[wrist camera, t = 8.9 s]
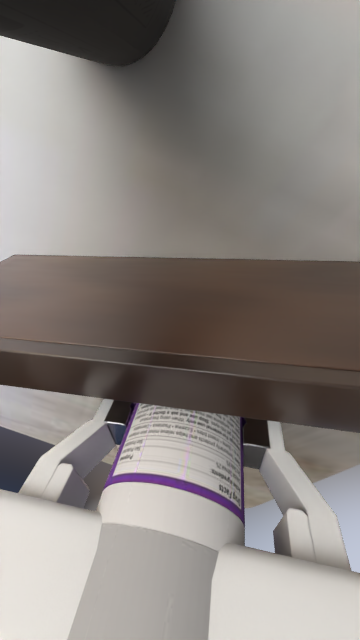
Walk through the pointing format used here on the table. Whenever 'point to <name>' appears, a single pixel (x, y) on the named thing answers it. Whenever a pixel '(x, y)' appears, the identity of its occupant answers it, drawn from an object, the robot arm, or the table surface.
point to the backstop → (188, 334)
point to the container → (164, 526)
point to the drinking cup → (88, 26)
